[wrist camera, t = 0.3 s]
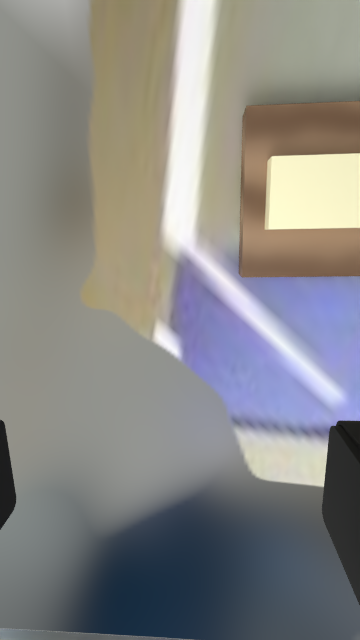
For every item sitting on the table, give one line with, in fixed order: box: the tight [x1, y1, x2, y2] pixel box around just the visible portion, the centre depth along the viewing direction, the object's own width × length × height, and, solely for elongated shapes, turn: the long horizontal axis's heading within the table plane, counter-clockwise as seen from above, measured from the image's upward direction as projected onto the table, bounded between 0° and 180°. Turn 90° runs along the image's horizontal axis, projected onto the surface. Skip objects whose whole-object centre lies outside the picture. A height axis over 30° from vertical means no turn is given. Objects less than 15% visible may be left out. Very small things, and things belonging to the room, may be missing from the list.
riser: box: [239, 101, 360, 277], centre depth 33 cm, size 15×14×3 cm
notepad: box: [265, 153, 360, 230], centre depth 30 cm, size 6×9×2 cm, turn 91°
